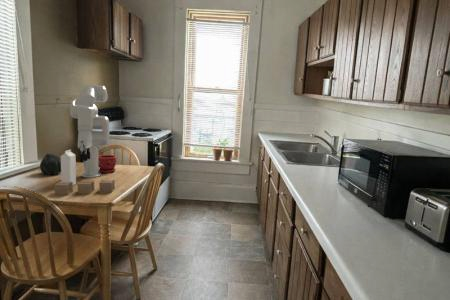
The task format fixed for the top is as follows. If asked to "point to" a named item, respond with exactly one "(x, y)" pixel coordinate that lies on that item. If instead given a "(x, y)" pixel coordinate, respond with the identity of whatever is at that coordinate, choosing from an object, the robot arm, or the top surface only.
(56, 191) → the digit block 1
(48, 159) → the squash
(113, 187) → the digit block 7
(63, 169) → the milk
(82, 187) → the plain block
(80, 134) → the robot arm
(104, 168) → the plant pot
